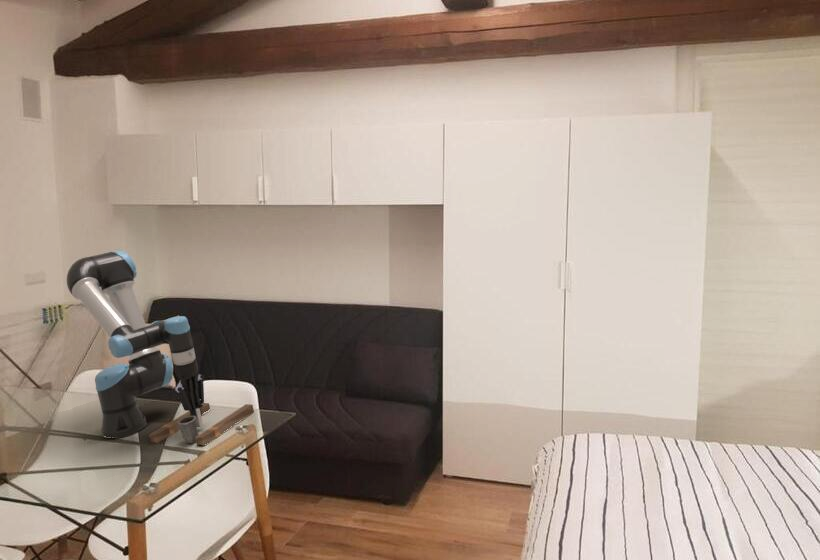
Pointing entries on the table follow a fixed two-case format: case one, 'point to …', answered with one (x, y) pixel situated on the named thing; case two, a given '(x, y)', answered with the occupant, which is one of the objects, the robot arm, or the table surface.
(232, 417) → the guide rails
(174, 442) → the table surface
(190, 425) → the pipe
